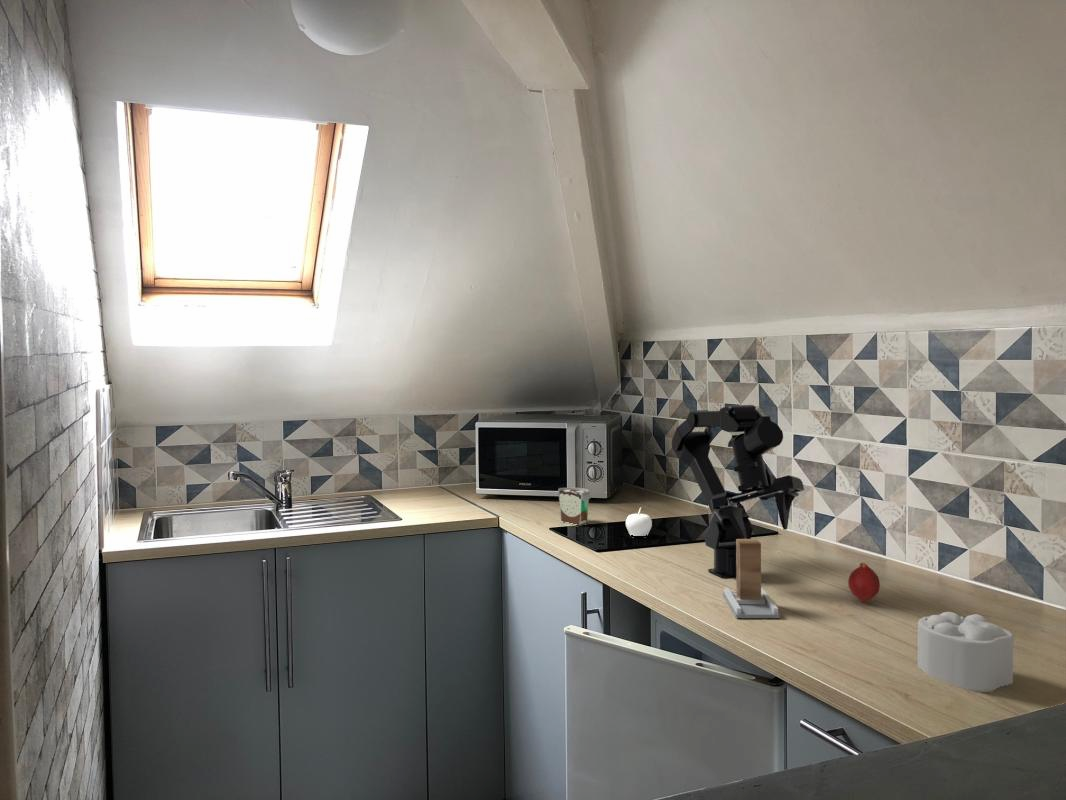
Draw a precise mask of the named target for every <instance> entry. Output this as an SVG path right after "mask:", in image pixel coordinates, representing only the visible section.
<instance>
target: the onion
mask: <svg viewBox="0 0 1066 800" xmlns="http://www.w3.org/2000/svg"><path fill="white" fill-rule="evenodd" d="M847 583H848V588H849V591H850V592H851V593H852V594H853V596H855V597H856V598H857V600H859V601H860V602H861V603H867V602H870V600H872V599H873V598H874V597H876V596H877V595H878V594H879V591H880V586H881V583H880V579H879V576H878V574H877V573H876V572H875V571H874V570H873V569H872V568H871V567H870V566H869V565H868V564H867V563H866V562H863V561H862V562H861V563H860V564H859V566H858V567H857V568H855V569H854V570H852V572H851V573H850V575H849V578H848V582H847Z"/></svg>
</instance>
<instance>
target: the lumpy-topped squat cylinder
mask: <svg viewBox="0 0 1066 800" xmlns="http://www.w3.org/2000/svg"><path fill="white" fill-rule="evenodd" d="M918 667H919V668H920V669H921V670H922V671H923V672H925V673H926V674H927V675H929V676H932V677H934V678H937V679H939V680H942V681H945V682H947V683H951V684H954V685H956V686H959V687H961V688H960V689H963V688H964V689H963V690H966V691H971V690H972V691H971V692H980V693H981V692H982V693H986V692H988V693H989V692H993V691H995V690H996V688H997V689H999V688H1001V687H1005V686H1004V685H1006V686H1009V684H1010V685H1012V684H1013V683H1014V635H1013V633H1012V632H1011V631H1009V630H1007V629H1005V628H1002V627H1000V626H999V625H996V624H994V623H991V622H989V621H988V619H987V618H985V616H983V615H981V614H977V613H975V614H974V613H973V614H971V615H970V614H969V615H967V616H966V617H964V616H960V615H959V614H957V613H955V612H952V611H944V612H941V613H940V614H932V615H930V616H923V617H921V618H919V620H918V622H917V668H918ZM919 668H918V669H919ZM920 669H919V670H920ZM921 670H920V671H921ZM922 671H921V672H922ZM923 672H922V673H923ZM926 674H925V675H926ZM927 675H926V676H927ZM929 676H928V677H929ZM939 680H938V681H939ZM947 683H946V684H947ZM956 686H955V687H956ZM1000 686H1001V687H1000ZM959 687H958V688H959Z"/></svg>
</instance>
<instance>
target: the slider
mask: <svg viewBox="0 0 1066 800" xmlns="http://www.w3.org/2000/svg"><path fill="white" fill-rule="evenodd" d="M723 590H724V591H722V597H723V599H724V601H725V602H726V604H727V603H728V604H727V605H728V607H729V609H730V608H731V609H730V610H731V612H732V611H733V612H732V614H733V613H734V614H733V616H734V615H735V616H736V617H735V616H734V617H735V618H780V619H781V614H780V613H779V607H778V606H777V605H776V604H775V602H774V601H773V600H772V599H771V597H770V596H769V595H768V594H767V592H766V591H765V590H764V589H763V587H761V595H762V596H763V598H764V599H765V604H738V603H737V601H736V599H735V598H734V596H733V595H732V593H736V591H731V590H730V588H729V587H724V588H723Z"/></svg>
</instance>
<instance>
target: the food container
mask: <svg viewBox="0 0 1066 800" xmlns="http://www.w3.org/2000/svg"><path fill="white" fill-rule="evenodd" d="M557 496H558V500H559V501H558V502H559V513H560V522H561V521H563V522H569V523H573V524H577V525H585V524H587V525H588V518H589V517H588V515H589V501H590V499H591V498H592V497H591V496H592V495H591V492H590V490H589V489H587V488H584V487H583V488H582V487H559V488H558V490H557ZM563 522H562V523H563Z"/></svg>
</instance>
